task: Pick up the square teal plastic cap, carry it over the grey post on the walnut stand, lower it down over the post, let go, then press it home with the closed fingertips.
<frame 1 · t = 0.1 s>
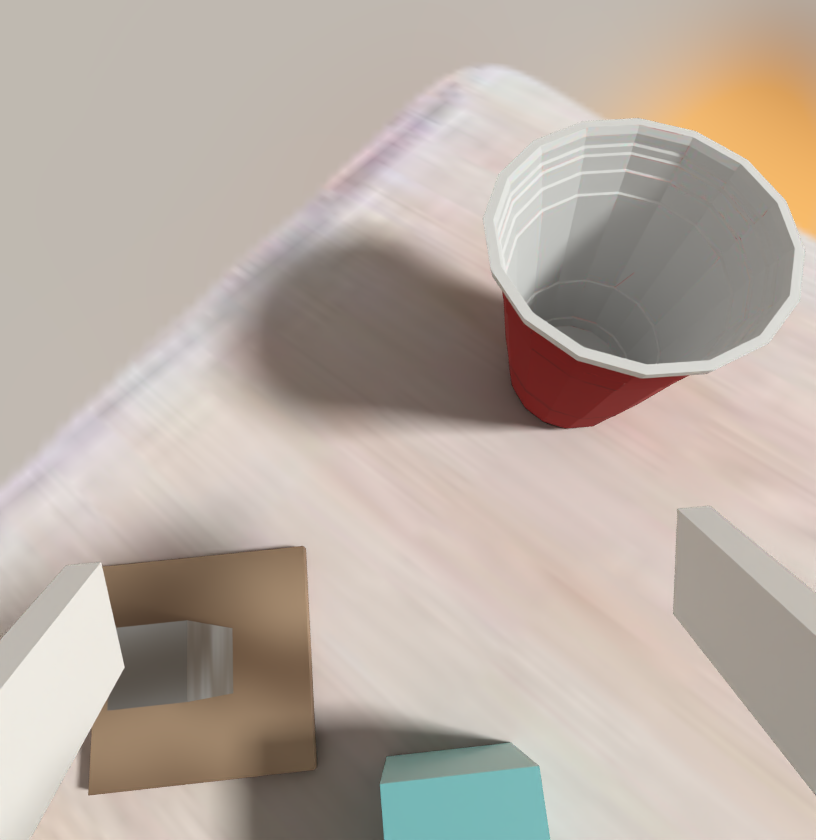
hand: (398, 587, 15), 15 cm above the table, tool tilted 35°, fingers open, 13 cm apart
plastic cup: (566, 372, 34), on the table
post: (207, 663, 29), on the table
cap: (456, 820, 27), on the table
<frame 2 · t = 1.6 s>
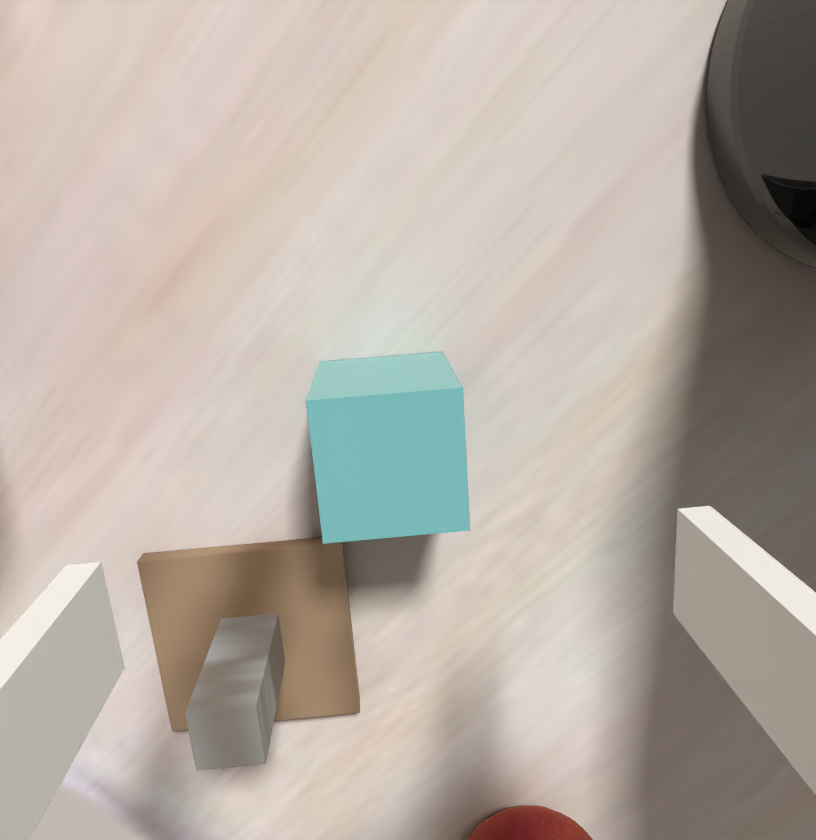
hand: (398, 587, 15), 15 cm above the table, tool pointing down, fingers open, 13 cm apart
apple: (515, 832, 36), on the table
post: (256, 630, 32), on the table
cap: (386, 415, 29), on the table
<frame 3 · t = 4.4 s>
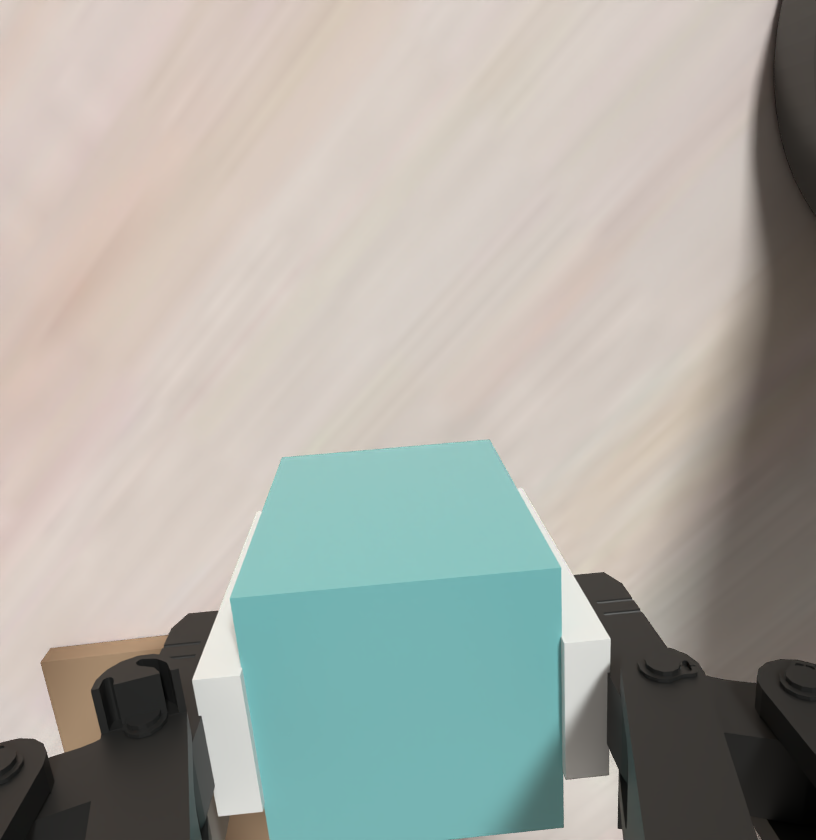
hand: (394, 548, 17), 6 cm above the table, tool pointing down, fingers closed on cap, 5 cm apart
post: (200, 737, 25), on the table
cap: (394, 542, 18), point 6 cm above the table, touching gripper
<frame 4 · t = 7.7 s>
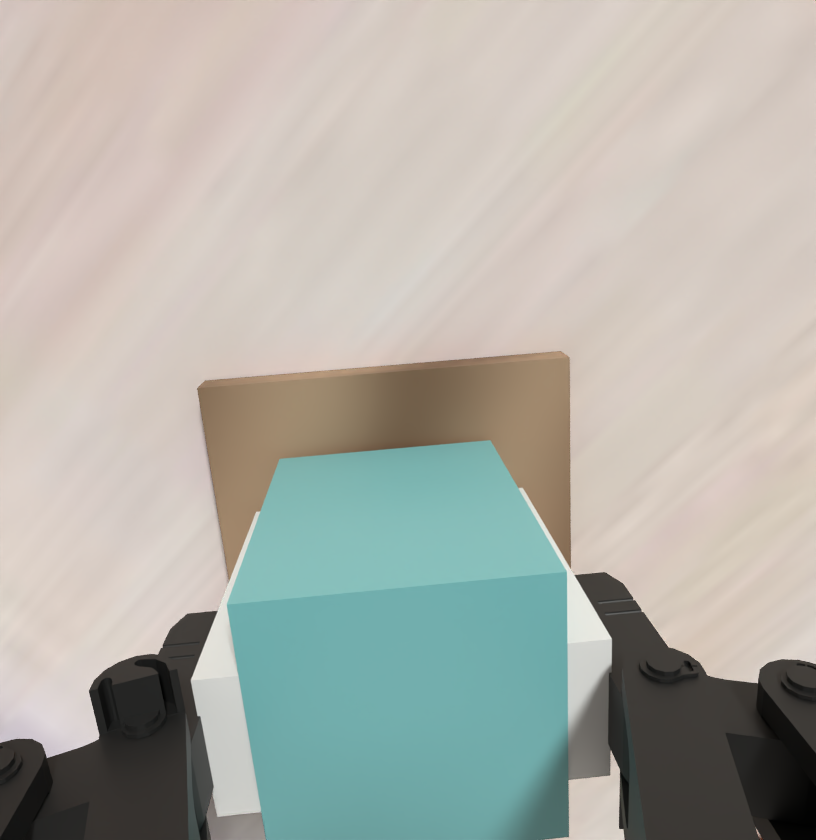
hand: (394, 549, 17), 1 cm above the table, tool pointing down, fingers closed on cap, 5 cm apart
post: (398, 528, 18), on the table
cap: (393, 545, 17), point 1 cm above the table, touching gripper, post
when the fingers open (1 cm above the table, at t = 7.9 s): cap stays where it is, resting on post.
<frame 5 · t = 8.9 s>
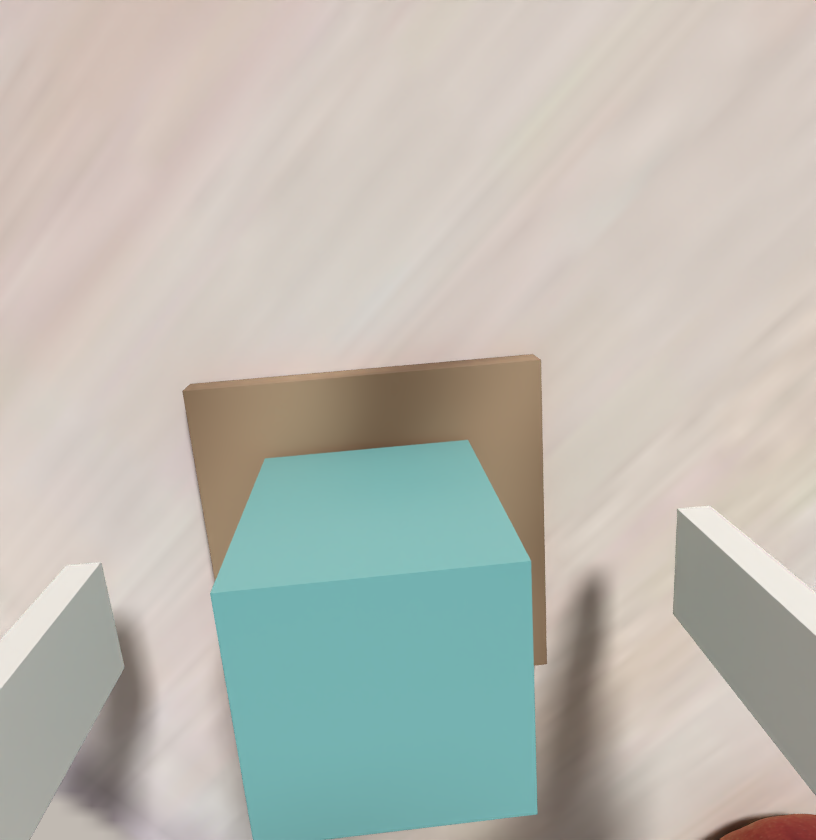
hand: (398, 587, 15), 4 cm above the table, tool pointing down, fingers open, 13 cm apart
post: (378, 526, 19), on the table
cap: (375, 541, 18), point 1 cm above the table, touching post
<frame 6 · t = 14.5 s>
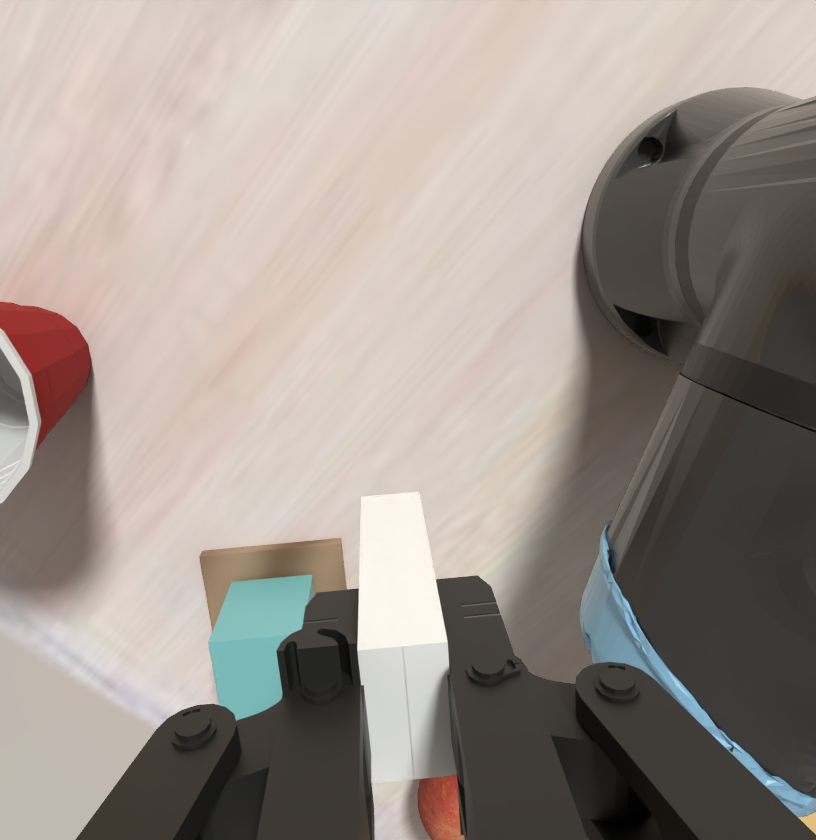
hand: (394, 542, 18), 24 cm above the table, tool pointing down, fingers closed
apple: (467, 754, 50), on the table
plastic cup: (39, 355, 40), on the table
post: (280, 605, 45), on the table
cap: (277, 613, 44), point 1 cm above the table, touching post
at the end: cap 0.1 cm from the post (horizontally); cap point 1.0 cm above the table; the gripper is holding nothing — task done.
